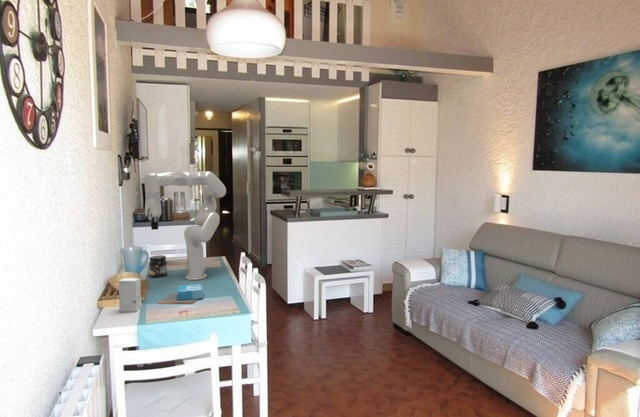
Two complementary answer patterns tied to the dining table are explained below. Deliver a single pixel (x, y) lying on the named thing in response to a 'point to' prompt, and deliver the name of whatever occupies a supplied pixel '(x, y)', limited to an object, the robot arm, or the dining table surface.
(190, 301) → the oak strip
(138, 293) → the skincare box
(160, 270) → the supplement container
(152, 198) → the robot arm
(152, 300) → the dining table surface
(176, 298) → the rubber mat
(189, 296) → the data package
